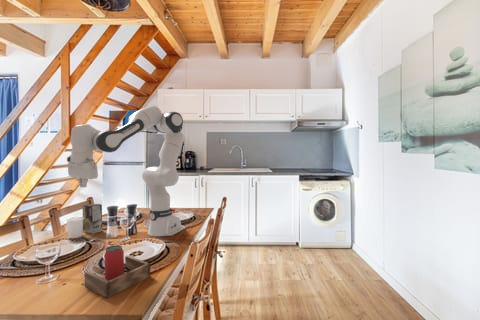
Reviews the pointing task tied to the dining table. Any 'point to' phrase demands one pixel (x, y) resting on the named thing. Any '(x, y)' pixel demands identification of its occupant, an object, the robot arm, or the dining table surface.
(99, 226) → the coffee box
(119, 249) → the beer can
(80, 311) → the dining table surface
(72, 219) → the white cup
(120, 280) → the walnut corral
